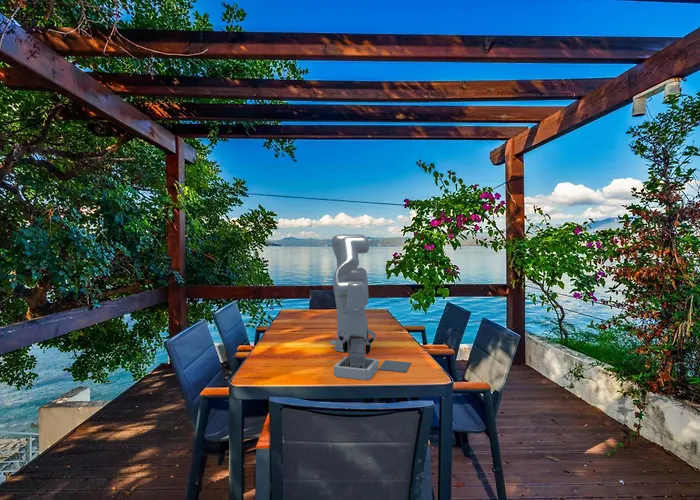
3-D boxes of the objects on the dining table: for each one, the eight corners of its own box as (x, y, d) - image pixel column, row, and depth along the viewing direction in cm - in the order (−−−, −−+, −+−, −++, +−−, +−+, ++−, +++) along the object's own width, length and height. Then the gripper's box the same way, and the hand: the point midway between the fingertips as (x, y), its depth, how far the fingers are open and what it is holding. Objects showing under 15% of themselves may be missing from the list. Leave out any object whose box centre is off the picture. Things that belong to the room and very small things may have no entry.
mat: (378, 370, 150) (378, 369, 150) (385, 361, 163) (385, 360, 163) (406, 372, 146) (406, 371, 146) (411, 363, 159) (411, 362, 159)
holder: (333, 376, 143) (333, 366, 143) (345, 365, 157) (345, 356, 157) (369, 380, 138) (368, 370, 138) (378, 368, 152) (378, 359, 152)
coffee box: (348, 369, 152) (347, 331, 152) (362, 368, 152) (362, 331, 153) (350, 376, 143) (349, 336, 143) (365, 375, 143) (365, 336, 144)
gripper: (333, 312, 147) (334, 353, 147) (373, 314, 141) (374, 357, 141) (339, 310, 154) (340, 349, 154) (378, 311, 149) (378, 352, 148)
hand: (356, 352), depth 147 cm, fingers open, 9 cm apart
